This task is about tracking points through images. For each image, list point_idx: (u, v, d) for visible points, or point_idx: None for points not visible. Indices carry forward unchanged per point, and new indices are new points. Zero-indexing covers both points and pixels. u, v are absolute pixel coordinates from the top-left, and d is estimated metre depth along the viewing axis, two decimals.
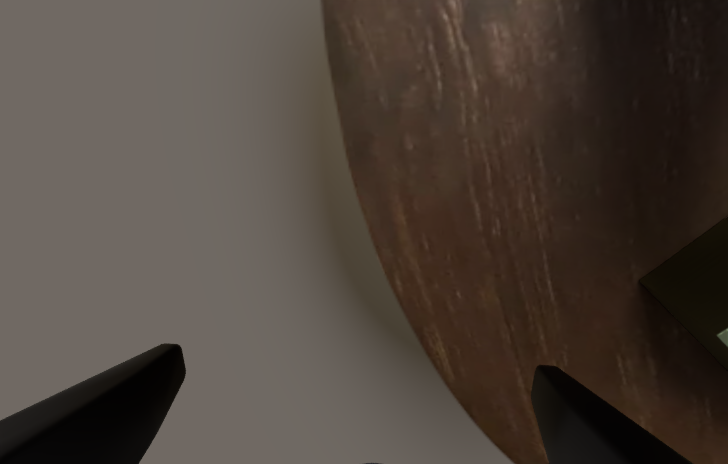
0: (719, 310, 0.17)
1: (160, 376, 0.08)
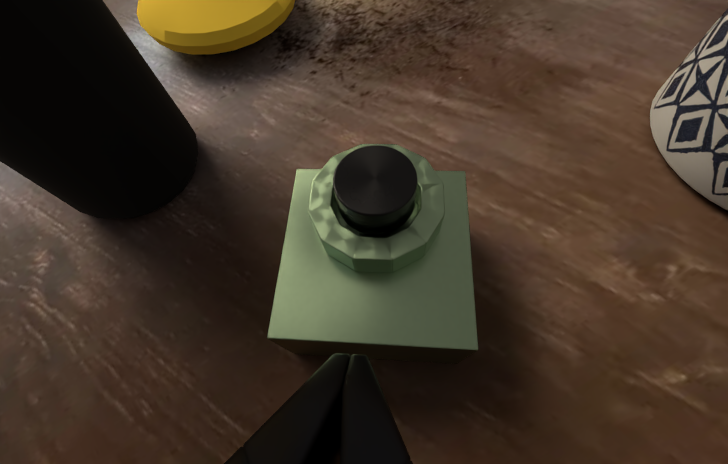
0: None
1: None
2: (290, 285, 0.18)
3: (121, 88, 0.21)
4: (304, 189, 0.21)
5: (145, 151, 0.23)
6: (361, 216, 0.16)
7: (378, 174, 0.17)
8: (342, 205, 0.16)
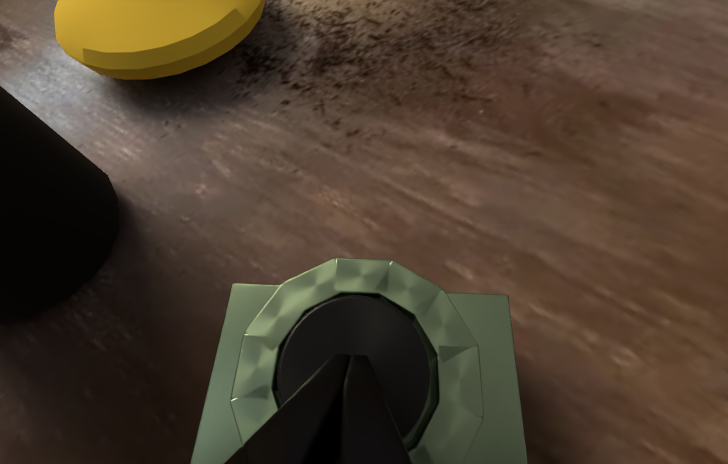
0: None
1: None
2: None
3: None
4: (241, 324, 0.13)
5: (6, 243, 0.15)
6: None
7: None
8: None
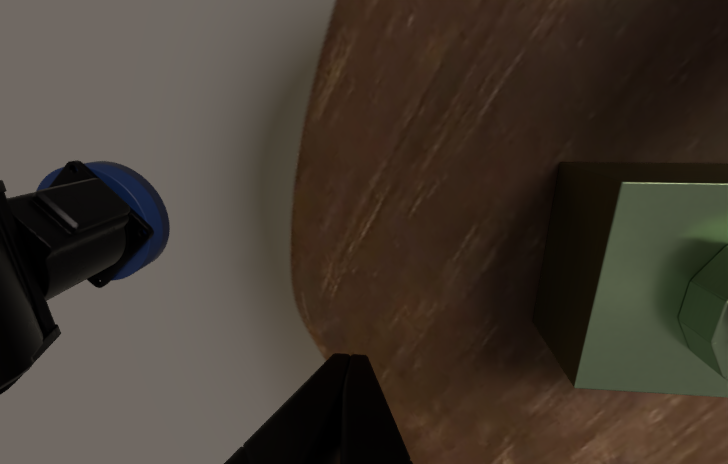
0: (633, 177, 0.15)
1: None
2: (690, 202, 0.14)
3: None
4: None
5: None
6: None
7: None
8: None
